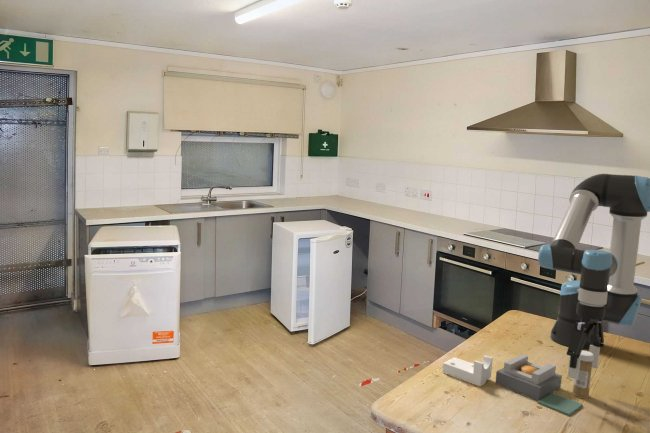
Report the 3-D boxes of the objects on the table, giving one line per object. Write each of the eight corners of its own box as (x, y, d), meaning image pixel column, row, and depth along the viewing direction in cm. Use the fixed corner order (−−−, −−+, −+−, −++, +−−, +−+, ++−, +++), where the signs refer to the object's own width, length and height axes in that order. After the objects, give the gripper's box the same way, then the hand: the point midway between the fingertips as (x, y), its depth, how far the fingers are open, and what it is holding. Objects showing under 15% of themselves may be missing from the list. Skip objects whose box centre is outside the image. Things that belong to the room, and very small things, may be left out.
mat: (552, 394, 162) (552, 392, 162) (582, 406, 156) (583, 404, 156) (537, 403, 156) (537, 401, 156) (568, 416, 150) (569, 414, 150)
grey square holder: (518, 371, 177) (520, 351, 176) (560, 387, 167) (562, 366, 166) (495, 383, 168) (497, 361, 167) (538, 401, 158) (541, 378, 157)
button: (525, 373, 170) (526, 364, 170) (539, 378, 167) (540, 369, 166) (517, 377, 167) (518, 368, 167) (532, 382, 164) (533, 373, 163)
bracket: (490, 380, 170) (492, 357, 169) (479, 387, 165) (482, 363, 164) (453, 367, 179) (455, 345, 178) (442, 373, 174) (444, 351, 173)
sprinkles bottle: (591, 396, 162) (597, 353, 160) (582, 400, 159) (588, 356, 157) (577, 390, 166) (582, 348, 164) (568, 393, 163) (573, 351, 161)
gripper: (595, 293, 169) (587, 358, 172) (559, 306, 153) (551, 378, 156) (621, 299, 164) (612, 366, 167) (586, 313, 147) (577, 387, 150)
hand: (582, 372), depth 161 cm, fingers open, 13 cm apart
